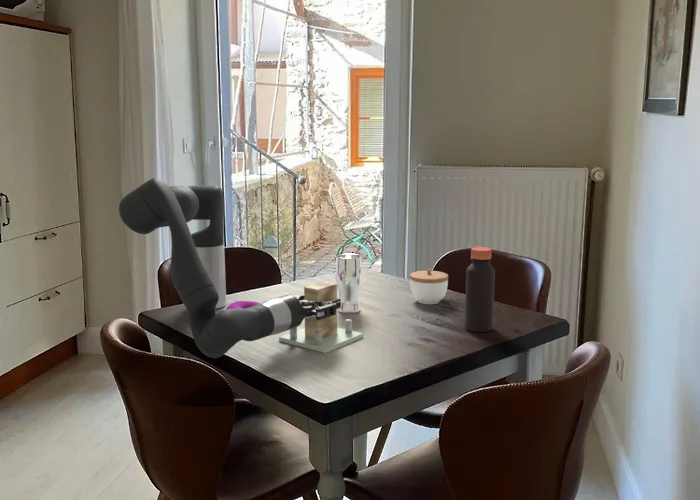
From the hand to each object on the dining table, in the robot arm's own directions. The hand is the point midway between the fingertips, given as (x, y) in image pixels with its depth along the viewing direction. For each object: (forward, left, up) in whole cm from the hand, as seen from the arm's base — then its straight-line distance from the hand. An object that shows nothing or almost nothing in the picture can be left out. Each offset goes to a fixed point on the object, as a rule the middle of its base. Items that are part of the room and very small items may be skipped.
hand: (325, 299), depth 165 cm
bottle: (+36, +12, -9) cm, 39 cm away
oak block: (-1, -1, -8) cm, 8 cm away
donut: (-23, +12, -10) cm, 28 cm away
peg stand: (-1, -1, -9) cm, 9 cm away
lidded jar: (+23, +36, -9) cm, 43 cm away
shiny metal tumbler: (+2, +24, -9) cm, 25 cm away
